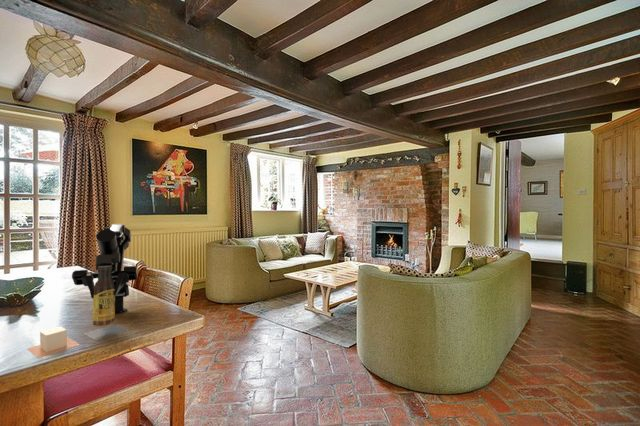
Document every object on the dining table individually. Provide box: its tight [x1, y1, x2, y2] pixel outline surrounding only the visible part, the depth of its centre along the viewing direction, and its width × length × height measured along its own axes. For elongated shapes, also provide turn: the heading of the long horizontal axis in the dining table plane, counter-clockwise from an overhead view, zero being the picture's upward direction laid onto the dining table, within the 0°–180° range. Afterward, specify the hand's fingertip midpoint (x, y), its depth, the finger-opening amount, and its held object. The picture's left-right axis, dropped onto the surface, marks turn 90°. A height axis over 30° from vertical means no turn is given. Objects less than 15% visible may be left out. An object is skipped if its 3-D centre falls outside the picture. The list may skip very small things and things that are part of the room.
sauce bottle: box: [92, 265, 116, 327], centre depth 106 cm, size 7×6×20 cm
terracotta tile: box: [26, 336, 81, 359], centre depth 95 cm, size 10×10×1 cm
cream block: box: [39, 325, 68, 352], centre depth 95 cm, size 5×5×5 cm
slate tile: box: [82, 323, 130, 342], centre depth 106 cm, size 10×10×1 cm
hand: (103, 296), depth 105 cm, fingers closed on sauce bottle, 6 cm apart
